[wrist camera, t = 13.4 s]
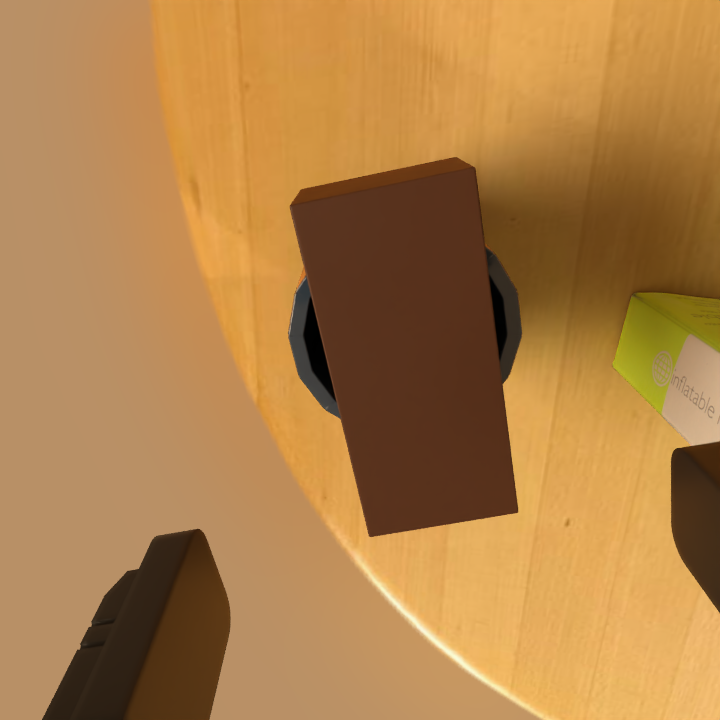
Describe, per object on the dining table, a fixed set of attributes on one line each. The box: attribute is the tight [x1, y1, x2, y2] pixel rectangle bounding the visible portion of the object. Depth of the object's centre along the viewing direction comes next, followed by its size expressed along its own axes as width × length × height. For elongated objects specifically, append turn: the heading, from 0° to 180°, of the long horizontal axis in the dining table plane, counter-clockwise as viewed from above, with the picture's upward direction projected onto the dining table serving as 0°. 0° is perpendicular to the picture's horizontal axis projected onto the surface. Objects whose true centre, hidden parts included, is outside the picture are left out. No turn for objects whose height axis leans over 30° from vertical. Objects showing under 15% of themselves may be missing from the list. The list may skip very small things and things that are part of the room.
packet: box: [290, 157, 518, 537], centre depth 18 cm, size 10×4×3 cm, turn 11°
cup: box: [288, 243, 522, 419], centre depth 23 cm, size 7×7×8 cm
